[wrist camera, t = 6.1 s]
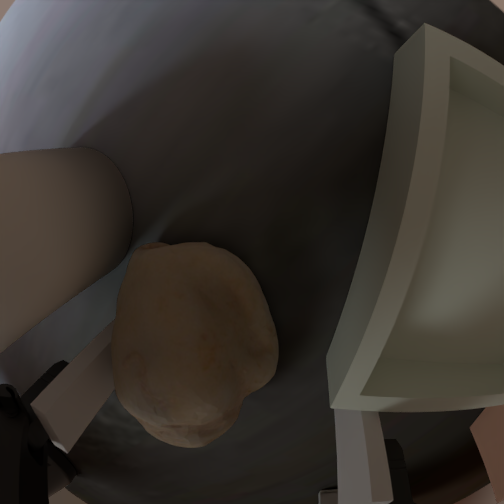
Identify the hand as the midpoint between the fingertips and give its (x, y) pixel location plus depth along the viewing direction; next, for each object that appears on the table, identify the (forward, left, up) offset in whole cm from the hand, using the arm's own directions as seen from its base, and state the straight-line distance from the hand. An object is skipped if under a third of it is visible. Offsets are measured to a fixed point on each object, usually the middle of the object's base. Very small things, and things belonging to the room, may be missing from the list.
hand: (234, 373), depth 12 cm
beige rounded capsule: (-8, +6, 0) cm, 10 cm away
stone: (-2, +2, -1) cm, 2 cm away
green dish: (+10, +8, 0) cm, 13 cm away
